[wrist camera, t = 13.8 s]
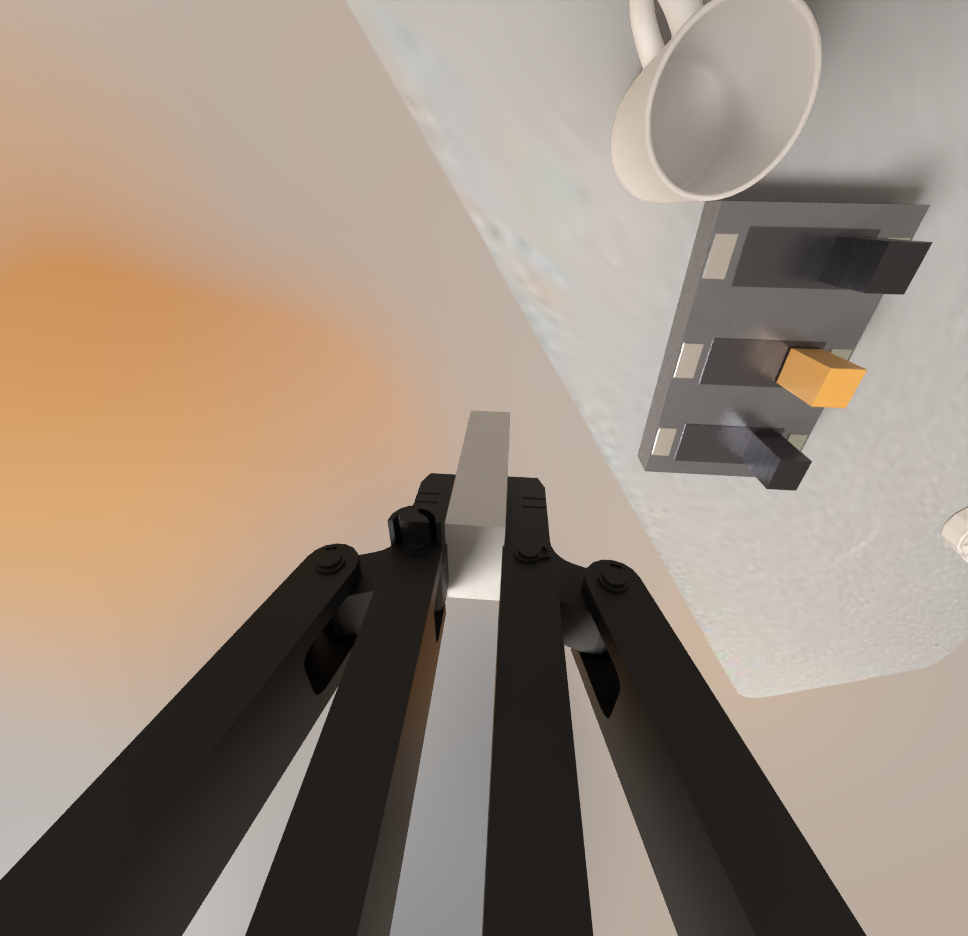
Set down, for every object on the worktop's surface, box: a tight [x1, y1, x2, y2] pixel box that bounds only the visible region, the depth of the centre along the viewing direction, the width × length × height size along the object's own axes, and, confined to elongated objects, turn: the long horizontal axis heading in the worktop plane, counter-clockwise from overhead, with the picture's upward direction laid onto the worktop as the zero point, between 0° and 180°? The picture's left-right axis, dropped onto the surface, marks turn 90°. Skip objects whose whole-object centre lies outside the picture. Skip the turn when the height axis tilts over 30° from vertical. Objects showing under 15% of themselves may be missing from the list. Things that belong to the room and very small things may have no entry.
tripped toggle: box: [776, 348, 867, 408], centre depth 32 cm, size 3×2×5 cm
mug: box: [611, 0, 822, 203], centre depth 24 cm, size 12×8×10 cm
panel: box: [638, 201, 932, 490], centre depth 33 cm, size 23×14×8 cm, turn 179°
